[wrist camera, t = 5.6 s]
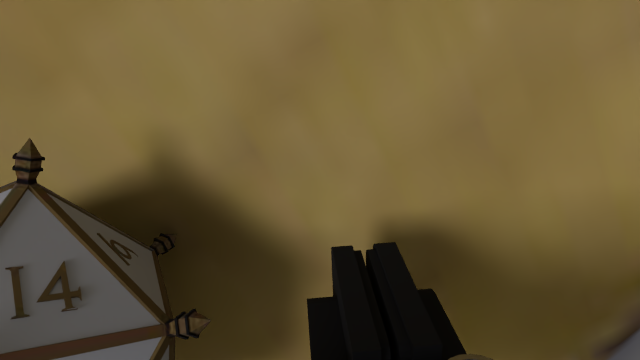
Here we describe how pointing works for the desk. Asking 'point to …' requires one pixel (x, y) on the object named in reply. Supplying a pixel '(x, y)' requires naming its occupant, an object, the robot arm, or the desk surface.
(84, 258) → the game die
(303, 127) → the desk surface
